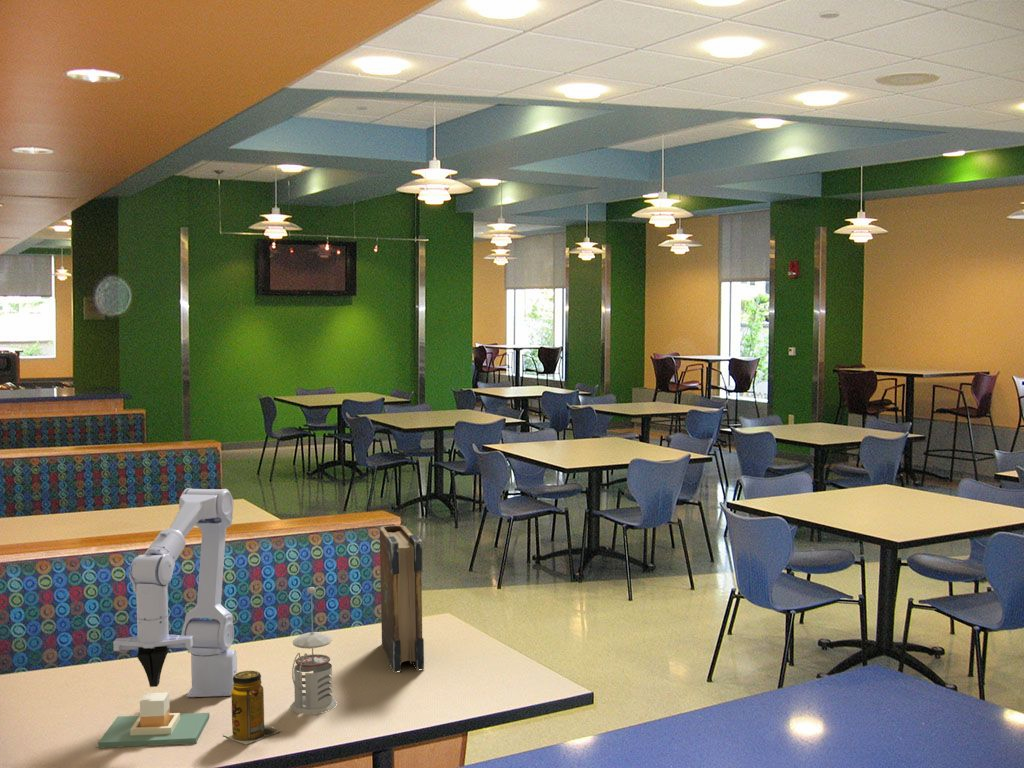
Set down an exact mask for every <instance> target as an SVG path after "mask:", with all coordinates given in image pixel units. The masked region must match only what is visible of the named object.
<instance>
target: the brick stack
mask: <svg viewBox="0 0 1024 768" xmlns="http://www.w3.org/2000/svg"><path fill="white" fill-rule="evenodd" d="M170 710H171V709H170V692H166V691H165V692H148V693H147V692H146V693H144V695H143V696H142V698H141V699H140V700H139V716H140V726H141V727H162V726H168V725H169V723H170V713H171V712H170Z"/></svg>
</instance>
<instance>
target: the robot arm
mask: <svg viewBox="0 0 1024 768" xmlns="http://www.w3.org/2000/svg"><path fill="white" fill-rule="evenodd" d="M234 504H235V503H234V498H233V495H232V494H231V492H230V490H229V489H227V488H222V489H218V488H217V489H214V488H211V489H210V488H209V489H208V488H192V487H188V488H185V489H184V490H183V491H182V493H181V495H180V497H179V503H178V506H179V507H178V509H179V511H178V512H177V514H176V516H175V517H174V520H173V522H172V523H171V524H170V526H169V528H165V529H162V530H161V531H159V533H158V534H157V536H156V537H155V539H154V540H153V541H152V543H151V544H150V545H149V547H148V548H147V549H146V551H145V552H144V554H139V555H137V557H134V558H133V560H132V561H131V565H130V567H129V572H128V574H129V580H130V582H131V584H132V591H133V594H135V595H136V598H135V599H136V625H137V627H136V628H137V635H136V636H130V637H118V638H115V640H113V643H112V644H113V652H120V651H124V650H125V651H126V650H127V651H129V650H137V653H136V657H137V659H138V661H139V662H140V664H141V665H142V668H143V670H144V672H145V674H146V677H147V680H148V685H149V687H150V688H155V687H159V685H160V682H161V681H160V680H161V673H162V670H163V667H164V664H165V661H166V658H167V655H168V653H169V651H170V649H177V648H178V649H180V648H185V649H187V653H190V661H191V662H190V663H191V664H190V669H191V671H190V672H191V688H189V691H188V692H187V694H186V698H204V697H207V698H208V697H226V696H227V697H228V696H229V697H231V691H232V689H233V676H234V675H235V674H237V673H238V658H237V657H238V655H237V651H236V650H235V649H231V648H230V647H231V646H232V645H233V642H234V638H235V629H234V628H235V627H234V620H233V619H234V616H233V614H232V613H231V612H230V611H229V610H228V609H227V608H225V606H223V605H222V592H223V578H224V577H223V576H224V567H225V566H224V564H225V550H226V535H227V528H229V527H232V526H233V525H232V524H233V514H234ZM194 527H198V528H199V530H200V531H201V545H200V556H199V557H200V558H199V573H198V584H197V586H198V587H197V596H196V597H197V599H196V605H195V606H194V607H193V608H192V609H190V610H189V611H188V612H187V613H185V618H184V624H183V626H182V629H181V633H180V634H181V635H180V634H169V633H170V631H169V628H170V626H169V602H168V601H169V599H168V596H169V595H168V594H169V593H168V584H169V583H170V582H171V580H172V578H173V573H174V569H175V567H176V561H177V559H178V558H179V557H180V555H181V553H182V552H183V550H184V549H185V548H186V537H187V536H188V534H190V532H191V531H192V530H193V528H194ZM211 619H212V620H211ZM229 648H230V649H229Z"/></svg>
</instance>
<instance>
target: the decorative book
mask: <svg viewBox="0 0 1024 768" xmlns="http://www.w3.org/2000/svg"><path fill="white" fill-rule="evenodd" d="M379 557H380V558H379V561H380V563H379V566H380V567H379V568H380V572H379V573H380V606H381V607H380V609H381V610H380V611H381V614H380V615H381V617H380V618H381V620H380V621H381V622H380V623H381V624H380V625H381V645H382V647H383V650H384V649H385V650H384V651H386V652H385V653H386V655H387V658H388V664H389V663H390V664H389V666H390V665H391V667H392V669H393V671H394V672H397V671H401V672H402V663H403V662H409V663H410V664H413V663H414V665H415V666H414V665H413V666H414V668H415V667H416V668H415V670H416V669H417V670H419V669H424V670H425V654H424V653H425V646H424V645H425V643H424V641H425V640H424V637H423V604H422V603H423V602H422V601H423V599H422V598H423V597H422V594H423V593H422V592H423V591H422V588H423V587H422V573H423V540H422V539H421V538H420V537H419V536H418V534H413V533H412V532H411V531H410V529H409V528H408V527H407V526H405V525H403V524H402V525H400V524H392V525H382V526H380V527H379ZM412 662H413V663H412ZM391 667H390V668H391ZM392 669H391V670H392ZM417 670H416V671H417ZM393 671H392V672H393Z"/></svg>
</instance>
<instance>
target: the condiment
mask: <svg viewBox="0 0 1024 768" xmlns="http://www.w3.org/2000/svg"><path fill="white" fill-rule="evenodd" d="M261 678H262V675H261V673H260V672H259V671H256V670H244V671H239V672H237V674H235V675H234V676H233V689H232V691H231V696H230V697H231V728H232V731H231V732H229V733H227V734H223V736H224V737H227V738H228V739H231V740H232V741H236V742H237V743H241V744H242V745H243V744H244V745H248V744H251V743H254V742H257V741H260V740H263V739H264V738H267V737H268V736H271V735H275V734H276V733H278V732H282V731H283V730H282V729H278V728H275V727H273V726H271V725H267V724H265V699H264V698H265V697H264V695H265V694H264V687H263V685H262V679H261Z"/></svg>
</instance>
